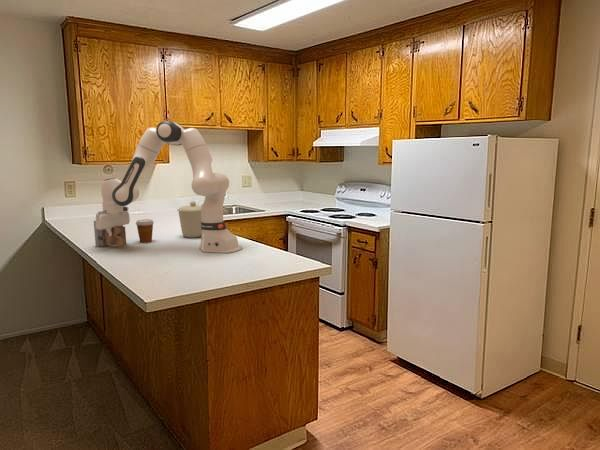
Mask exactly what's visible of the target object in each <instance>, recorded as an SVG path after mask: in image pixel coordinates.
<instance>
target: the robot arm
mask: <svg viewBox="0 0 600 450" xmlns="http://www.w3.org/2000/svg"><path fill="white" fill-rule="evenodd" d="M166 144H168V145H171V146H182V147H183V149H184V152H185V154H186V156H187V159H188V161H189V163H190V166H191V170H192V180H191V181H192V182H191V189H192V191H193V193H194V194H195V195H197V196H201V197H204V200H203V203H202V204H201V218H202V222H201V231H202V237H200V239H201V240H200V245H199V250H200V251H201V252H203V253H219V254H220V253H221V254H222V253H223V254H231V253H236V252H238V251H241V250H243V248H244V247H243V245H239V241H238V237H237V236H236V235H235V234H234V233H232V232H231V231H230V230H229V229H228V228H227V226H228V224H229V223H228V222H225V221H224V202H225V197H226V193H227V190H228V189H229V187H230V180H229V178H228V176H227V175H225V173H224V174H223V173H221V172H213V170H212V162H213V158H212V155H211V153H210V150H209V148H208V146H207V143H206V141H205V139H204V138H203V136H202V133H200V131H199V129H197V128H195V127H189V128H185V127H184V126H182V125H180V124H178V123H177V122H174V121H170V120H162V121H159V123H158V124H157V126H156V127H148V128H147V129H145V131H144V133H143V134H142V136H141V138H140V139H139V142H138V143H137V145H136V148H135V150H134V153H133V156H132V159H131V162H130V165H129V167H128V169H127V171H126V173H125V174H124V177H123V179H122V180H120V179H119V178H117V177H112V178H106V179H104V180H102V182H101V186H100V187H101V188H100V189H101V191H100V192H101V197H102V206H101V207H102V210H100V211H98V212H96V214H95V221H96V228H97V229H99V230H102V229H106V230H107V231H108V233H109V236H113V232H112V231H111V228H112V227H115V226H121V225H123V226H126V225H129V224H130V223H131V222H130V221H131V219H130V218H131V217H130V212H129V207H128V206H129V205H130V204H131V203H134V202H135V201H136V200H137V199H138V198H139V196H140V191H139V189H138V187H137V186H136V184H137V182H138V180H139V179H140V176H141V174H142V173H143V172H144V171H145V170H146V169H147V168H149V167H150V166H152V165H153V164H154V162H155V161H156V160H157V159H158V158H157V157H159V154H160V152H161V149H162V148H163V146H164V145H166Z"/></svg>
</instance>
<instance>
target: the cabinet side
mask: <svg viewBox="0 0 600 450" xmlns="http://www.w3.org/2000/svg"><path fill="white" fill-rule="evenodd" d="M121 226H124V225H121ZM93 228H94V229H93V232H94V242H95V248H100V247H104V246H108V245H107V244H105V241H104V240H103V238H102V237H103V236H104V231H103V230H99V229H97V228H96V220H93Z"/></svg>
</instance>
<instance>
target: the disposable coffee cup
mask: <svg viewBox="0 0 600 450" xmlns="http://www.w3.org/2000/svg"><path fill="white" fill-rule="evenodd" d="M135 225H136V227H137V233H138V237H139V242H140V243H144V244H147V243H151V242H153V231H154V230H153V229H154V228H153V227H154V220H153V219H147V218H146V219H139V220H136V222H135Z"/></svg>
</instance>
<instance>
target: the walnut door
mask: <svg viewBox="0 0 600 450" xmlns="http://www.w3.org/2000/svg"><path fill="white" fill-rule="evenodd" d="M102 230H103V231H104V236H103V237H102V238H103V240H104V241H105V244H107V245H106V246H108V245H109V246H118V247H125V246H127V236H126V235H127V234H126V233H127V232H126V226H125V225H123V226H115V227H112V228H111V231H112V232H113V236H109V233H108V231H107V230H106V229H102Z"/></svg>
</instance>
